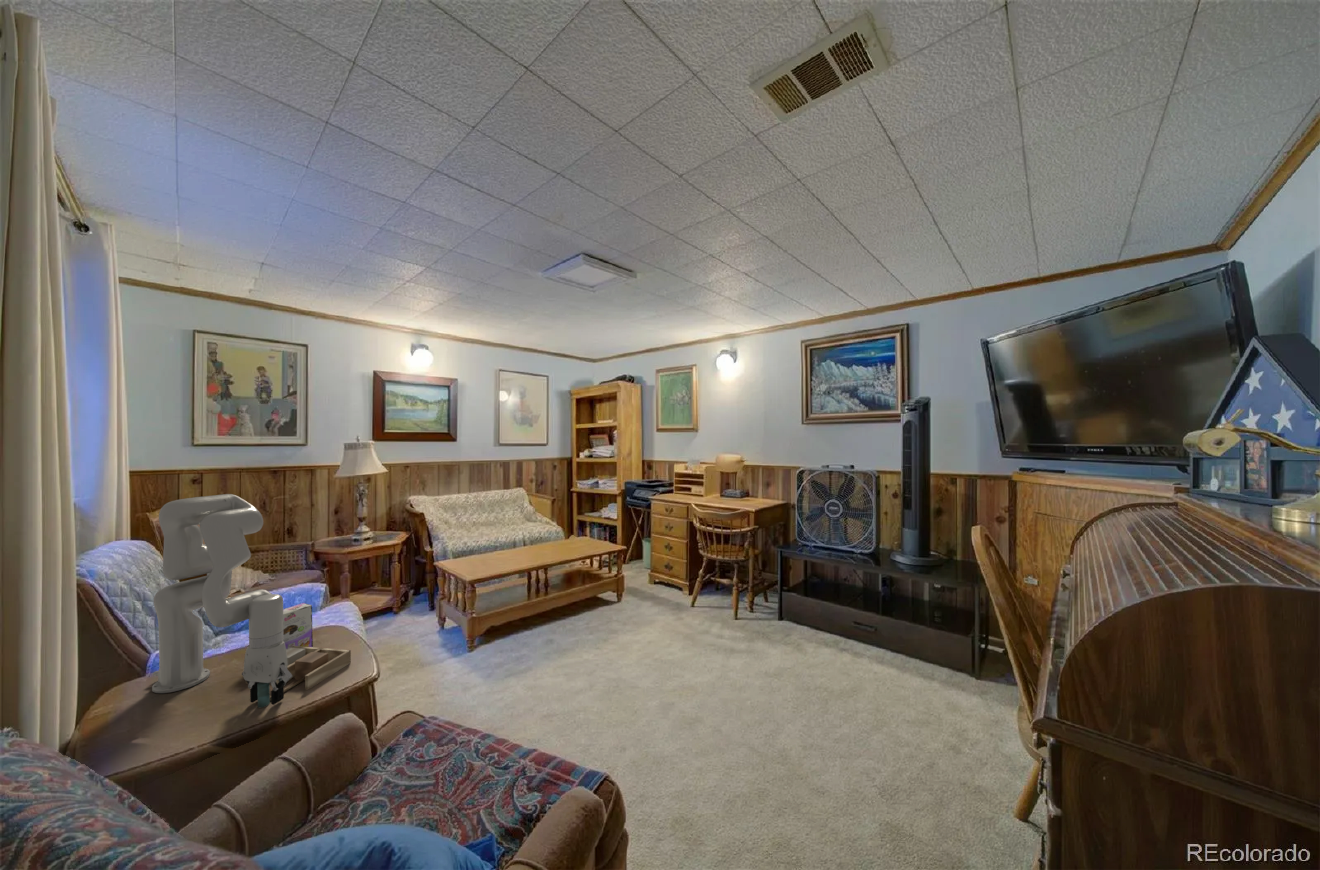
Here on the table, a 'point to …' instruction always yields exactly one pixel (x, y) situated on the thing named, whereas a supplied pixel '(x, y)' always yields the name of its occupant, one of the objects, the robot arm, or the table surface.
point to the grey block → (294, 654)
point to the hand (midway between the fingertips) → (267, 700)
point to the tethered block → (301, 669)
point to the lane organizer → (335, 663)
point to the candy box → (298, 626)
